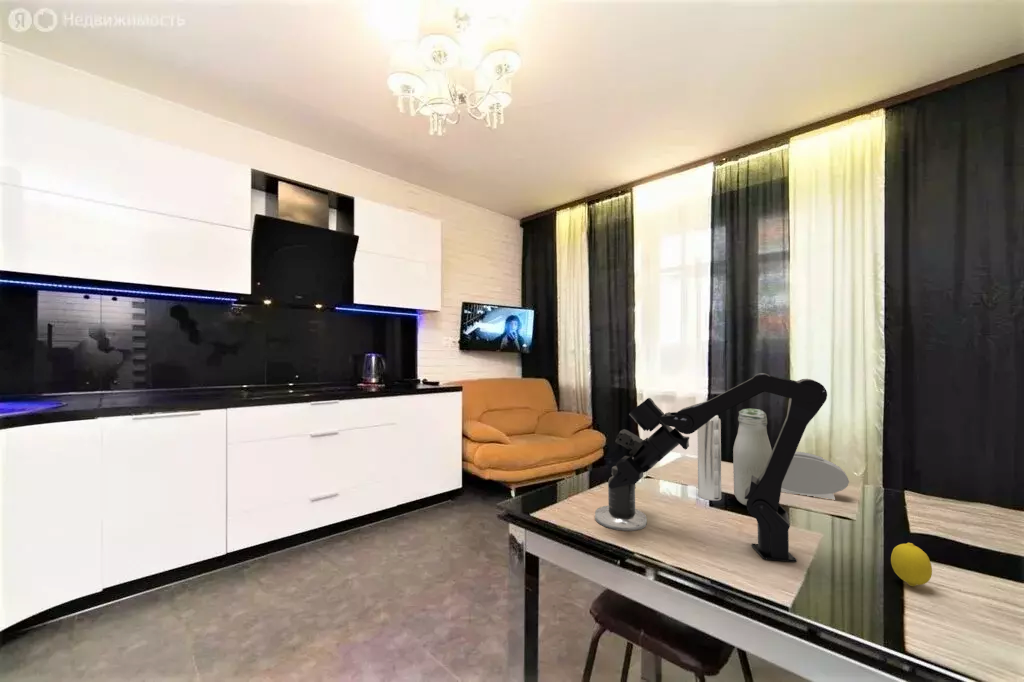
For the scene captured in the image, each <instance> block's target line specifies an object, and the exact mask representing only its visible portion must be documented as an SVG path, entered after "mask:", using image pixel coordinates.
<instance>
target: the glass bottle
mask: <svg viewBox="0 0 1024 682" xmlns="http://www.w3.org/2000/svg"><path fill="white" fill-rule="evenodd" d="M737 421H738V429H737V434H736V437H735V440H734V444H733V447H732V448H733V449H732V451H733V453H732V457H733V458H732V459H733V461H732V464H733V472H732V473H733V494H734V496H735V498H736V500H737V501H738V502H739V503H740V504H742V505H743V506H746V504H747V499H745V489H747V488H748V487H749V485H750V481H751V476H752V475H753V476H754V477H756V478H759V477H760V476H761V474H762V473H763V472H764V470H765V467H766V465H767V463H768V460H769V458H770V455H771V453H772V451H773V448H772V446H771V442H770V439H769V435H768V429H767V425H768V418H767V413H766V412H765V411H763V410H762V409H759V408H758V409H757V408H742V409H741V410H739V411H738V417H737Z"/></svg>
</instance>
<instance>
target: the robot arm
mask: <svg viewBox="0 0 1024 682" xmlns="http://www.w3.org/2000/svg"><path fill="white" fill-rule="evenodd" d="M764 392H765V393H767V394H773V395H776V396H780V397H784V398H787V399H788V405H787V406H788V407H787V413H786V417H785V420H784V422H783V424H782V426H781V429H780V431H779V434H778V437H777V439H776V441H775V443H774V445H773V446H774V447H773V448H772V453H771V455H770V458H769V460H768V463H767V465H766V467H765V470H764V472H763V473H762V474H761V476H760V477H759V478H756V477H754V476H753V475H752V476H751V481H750V485H749V487H748V488H747V489H745V499H747V504H746V505H745V506H746V509H747V512H748V514H750V516H752V517H753V518H754V519H756V522H757V543H751V548H753V550H754V551H756V553H757V554H759V556H760V557H761V558H762V559H764V560H767V561H779V562H780V561H781V562H782V561H783V562H793V563H796V562H797V558H796V557H795V556H794V555H793V554H791V552H789V551H790V546H789V545H790V543H789V542H790V541H789V540H790V539H789V538H790V537H789V529H790V528H791V527H790V526H791V525H790V521H789V519H790V518H789V514H788V511H786V509H784V507H783V506H781V504H780V501H781V494H782V492H781V487H782V482H783V480H784V478H785V475H786V473H787V471H788V468H789V466H790V464H791V461H792V459H793V457H794V454H795V452H797V449H798V447H799V445H800V443H801V440H802V439H803V436H804V433H805V431H806V428H807V426H808V425H809V423H810V422H811V421H812V419H814V417H815V416H816V415H817V414H818V413H819V411H820V409H821V408H822V407H823V405H824V404H825V402H826V401H827V398H828V391H827V390H826V388H825V386H824V385H823V384H822V383H820V382H818V381H816V380H814V379H811V378H801V379H799V380H793V379H789V378H783V377H779V376H773V375H769V374H767V373H764V372H760V373H757V374H755V375H754V376H753V377H752V378H749V379H748V380H745V381H743V382H742V383H739V384H738V385H736V386H734V387H732V388H730V389H728V390H726V391H725V392H723V393H720V394H719V395H717V396H715V397H713V398H711V399H709V400H707V401H703V402H700V403H696V404H693V405H689V406H686V407H684V408H681V409H680V410H678V411H677V412H676V411H674V412H666V413H664V411H662V409H660V407H658V405H657V404H656V403H655V402H654V400H653V399H652V398H651V397H648V398H646V399H645V400H644V401H642V402H641V403H640V404H639V405H636V406H635V407H634V408H633V409H632V410H631V411H630V412H629V413H628V416H630V417H631V418H632V419H633V420H634V422H635V423H636V424H637V425H638V426H639V427H640V428H641V429H642V430H643V432H644V431H647V432H648V431H649V432H650V433H652V432H653V431H654V430H655V429H657V430H655V431H654V433H652V434H651V435H650V436H648V437H646V438H645V439H643V438H641V437H640V436H638V435H636V434H635V433H633V432H631V431H630V430H628V429H625V428H624V429H621V430H620V431H619V433H618V434H617V435H616V439H615V443H616V444H617V445H621V446H622V447H623V448H625V449H626V450H629V452H628V453H629V454H630V456H629V455H624V456H623V457H621V458H620V459H619V460H618V461H617V462H616V464H615V466H616V467H617V473H616V475H615V476H614V477H613V479H612V480H611V482H610V483H609V485H608V484H607V485H608V486H609V488H610V489H613V488H617V487H621V486H626V485H631V484H632V485H633V484H635V485H636V484H637V483H638V482H639V481H640V480H641V479H643V477H644V473H647V472H648V471H649V470H651V469H652V468H653V467H654V466H656V464H657V463H659V462H660V461H661V460H663V459H664V458H665V457H666V456H667V455H668V454H670V453H671V452H672V451H673V450H674V449H675V448H676V447H678V446H681V447H682V448H683V450H687V449H688V448H689V447H690V443H689V441H690V436H686V435H690V434H693V433H695V432H696V431H697V430H698V429H699V428H700V427H702V426H703V425H704V424H705V423H707V422H708V421H709V420H711V419H712V418H713V417H715V416H716V415H717V416H719V415H720V414H721V413H723V412H726V411H727V410H731V408H734V407H736V406H738V405H740V404H741V403H744V402H746V401H748V400H750V399H751V398H754V397H756V396H758V395H760V394H762V393H764ZM660 425H661V426H660ZM658 426H660V427H659V428H657V427H658Z"/></svg>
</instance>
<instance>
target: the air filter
mask: <svg viewBox="0 0 1024 682" xmlns="http://www.w3.org/2000/svg"><path fill="white" fill-rule="evenodd" d="M721 423H722V421H721V418H719V415H716V416H715V417H713V418H712V419H711V420H709V421H708V422H707V423H705V424H704V425H703V426H702V427H700V428H699V429H698V430H696V431H697V433H696V434H697V496H698V497H699V498H700V497H701V499H704V500H707V501H720V500H721V499H722V443H721V441H722V440H721V439H722V436H721V435H722V434H721V432H722V431H721V429H722V424H721Z"/></svg>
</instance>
